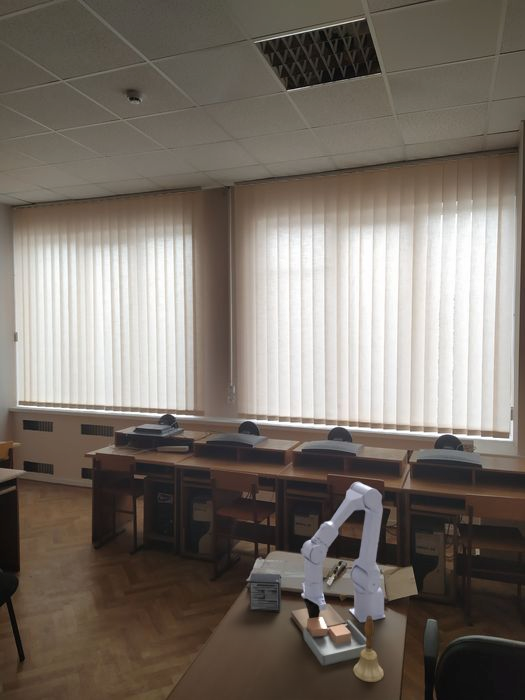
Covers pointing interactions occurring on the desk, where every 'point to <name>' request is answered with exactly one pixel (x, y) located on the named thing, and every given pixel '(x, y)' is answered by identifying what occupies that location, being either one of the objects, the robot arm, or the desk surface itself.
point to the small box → (265, 592)
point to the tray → (336, 646)
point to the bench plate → (328, 615)
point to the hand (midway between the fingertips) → (313, 621)
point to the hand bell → (368, 658)
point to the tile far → (316, 626)
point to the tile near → (339, 634)
